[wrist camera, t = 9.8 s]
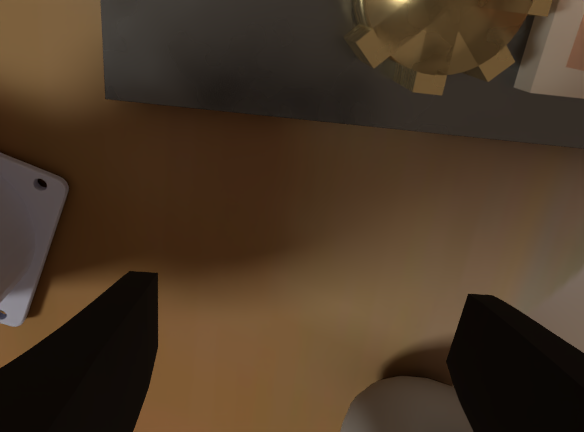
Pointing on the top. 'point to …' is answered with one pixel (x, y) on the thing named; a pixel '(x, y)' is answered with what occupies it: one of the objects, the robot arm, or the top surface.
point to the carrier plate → (340, 63)
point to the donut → (406, 407)
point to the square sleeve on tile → (555, 52)
